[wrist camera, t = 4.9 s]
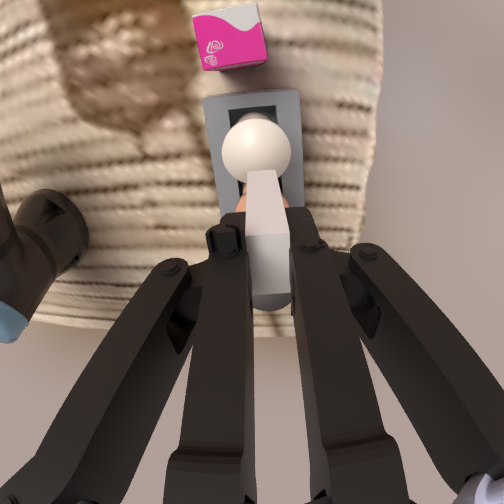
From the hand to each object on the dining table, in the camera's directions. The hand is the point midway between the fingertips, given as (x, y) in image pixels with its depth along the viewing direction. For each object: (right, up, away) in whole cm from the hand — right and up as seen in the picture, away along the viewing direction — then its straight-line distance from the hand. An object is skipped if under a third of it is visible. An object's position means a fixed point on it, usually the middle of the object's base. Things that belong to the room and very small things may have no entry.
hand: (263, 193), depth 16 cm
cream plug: (0, +9, +13) cm, 16 cm away
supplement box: (-2, +21, +13) cm, 25 cm away
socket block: (0, +7, +22) cm, 23 cm away
